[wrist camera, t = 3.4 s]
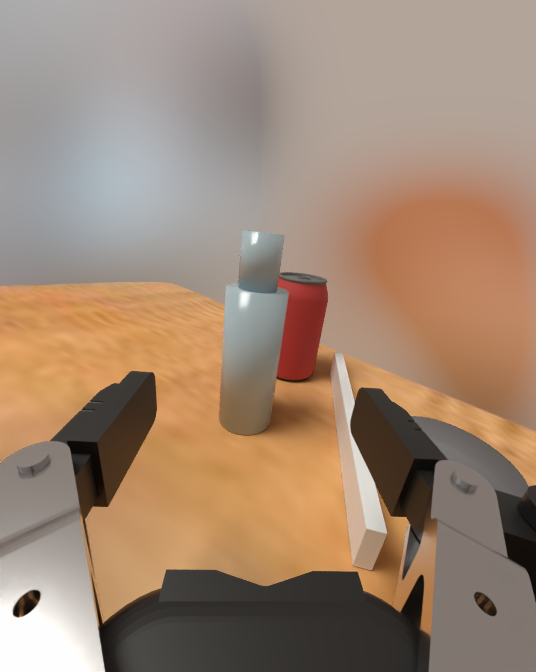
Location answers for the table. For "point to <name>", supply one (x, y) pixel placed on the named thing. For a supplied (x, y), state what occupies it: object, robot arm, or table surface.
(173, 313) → the table surface
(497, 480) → the coaster
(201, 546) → the table surface
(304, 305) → the beer can
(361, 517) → the wall
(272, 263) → the grey bottle
